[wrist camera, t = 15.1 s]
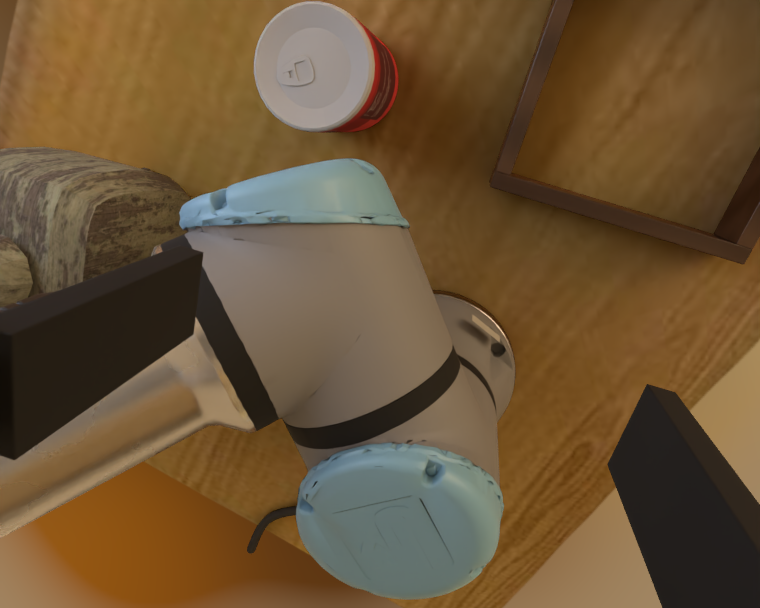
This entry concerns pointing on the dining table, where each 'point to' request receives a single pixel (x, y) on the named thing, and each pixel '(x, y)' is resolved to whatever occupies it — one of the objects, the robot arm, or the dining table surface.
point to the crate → (730, 241)
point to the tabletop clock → (77, 218)
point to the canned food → (324, 70)
